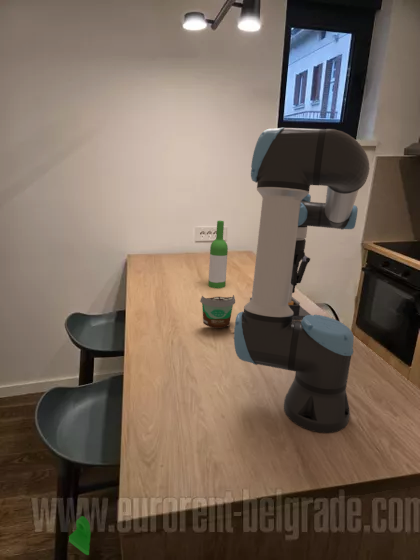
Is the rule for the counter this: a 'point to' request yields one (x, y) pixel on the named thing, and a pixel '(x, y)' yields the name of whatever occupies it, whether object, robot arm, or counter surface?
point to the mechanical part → (81, 535)
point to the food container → (217, 311)
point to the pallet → (297, 310)
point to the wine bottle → (218, 259)
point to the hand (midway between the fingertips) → (287, 301)
